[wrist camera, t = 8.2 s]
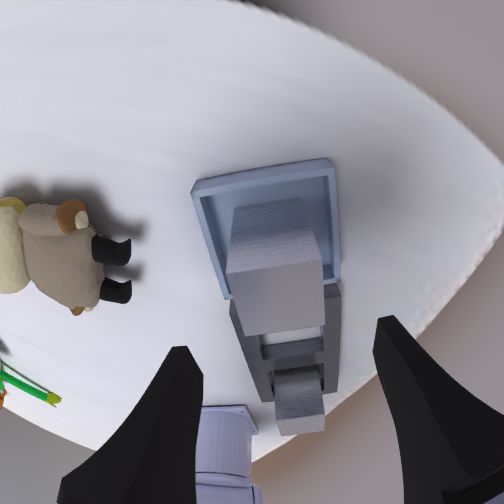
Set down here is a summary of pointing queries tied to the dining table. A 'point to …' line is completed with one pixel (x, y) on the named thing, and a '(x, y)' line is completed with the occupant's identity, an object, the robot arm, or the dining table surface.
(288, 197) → the tray
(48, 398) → the toy
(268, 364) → the dark grey rectangular frame
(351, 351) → the dining table surface
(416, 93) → the dining table surface
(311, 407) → the grey rectangular block
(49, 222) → the toy
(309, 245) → the light grey block
